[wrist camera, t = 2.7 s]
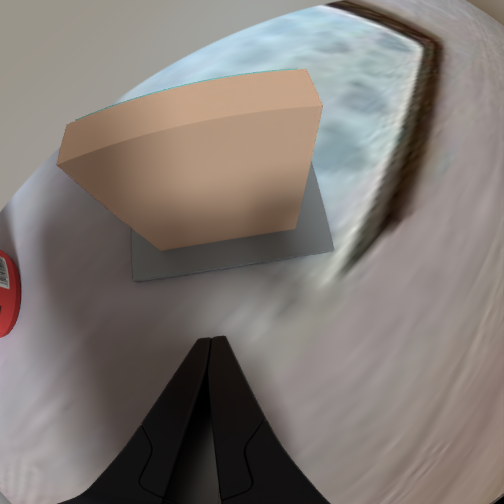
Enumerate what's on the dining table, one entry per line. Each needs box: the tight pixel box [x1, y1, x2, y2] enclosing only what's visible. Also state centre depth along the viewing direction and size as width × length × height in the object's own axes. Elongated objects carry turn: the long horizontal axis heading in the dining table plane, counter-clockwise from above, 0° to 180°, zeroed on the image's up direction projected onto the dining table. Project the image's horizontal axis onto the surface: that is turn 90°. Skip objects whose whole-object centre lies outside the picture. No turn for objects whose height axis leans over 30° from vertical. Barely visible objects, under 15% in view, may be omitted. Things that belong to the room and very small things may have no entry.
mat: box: [131, 161, 334, 282], centre depth 18 cm, size 14×12×1 cm
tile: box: [57, 69, 323, 251], centre depth 12 cm, size 2×8×10 cm, turn 99°
